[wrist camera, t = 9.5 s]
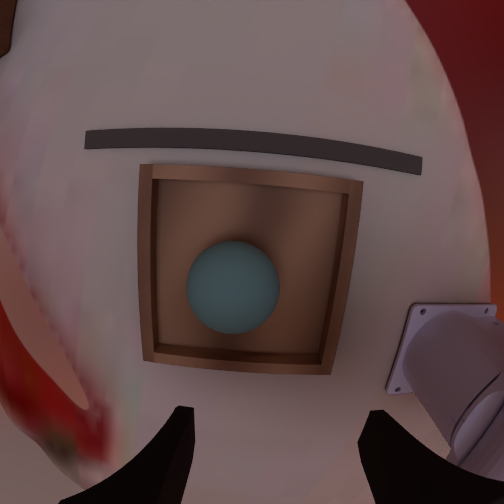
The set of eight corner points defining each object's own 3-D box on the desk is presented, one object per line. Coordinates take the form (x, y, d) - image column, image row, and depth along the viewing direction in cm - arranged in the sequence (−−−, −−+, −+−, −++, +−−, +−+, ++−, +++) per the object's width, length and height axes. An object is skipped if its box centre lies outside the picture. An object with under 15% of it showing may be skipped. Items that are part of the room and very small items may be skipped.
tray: (353, 180, 18) (363, 181, 17) (325, 360, 21) (330, 374, 20) (149, 164, 18) (140, 164, 16) (150, 347, 21) (143, 360, 19)
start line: (420, 157, 18) (422, 157, 18) (419, 175, 18) (421, 175, 18) (88, 131, 18) (85, 131, 17) (86, 149, 18) (84, 148, 18)
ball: (288, 239, 18) (278, 259, 14) (279, 318, 19) (266, 359, 15) (206, 229, 19) (170, 245, 14) (203, 305, 20) (171, 339, 16)
